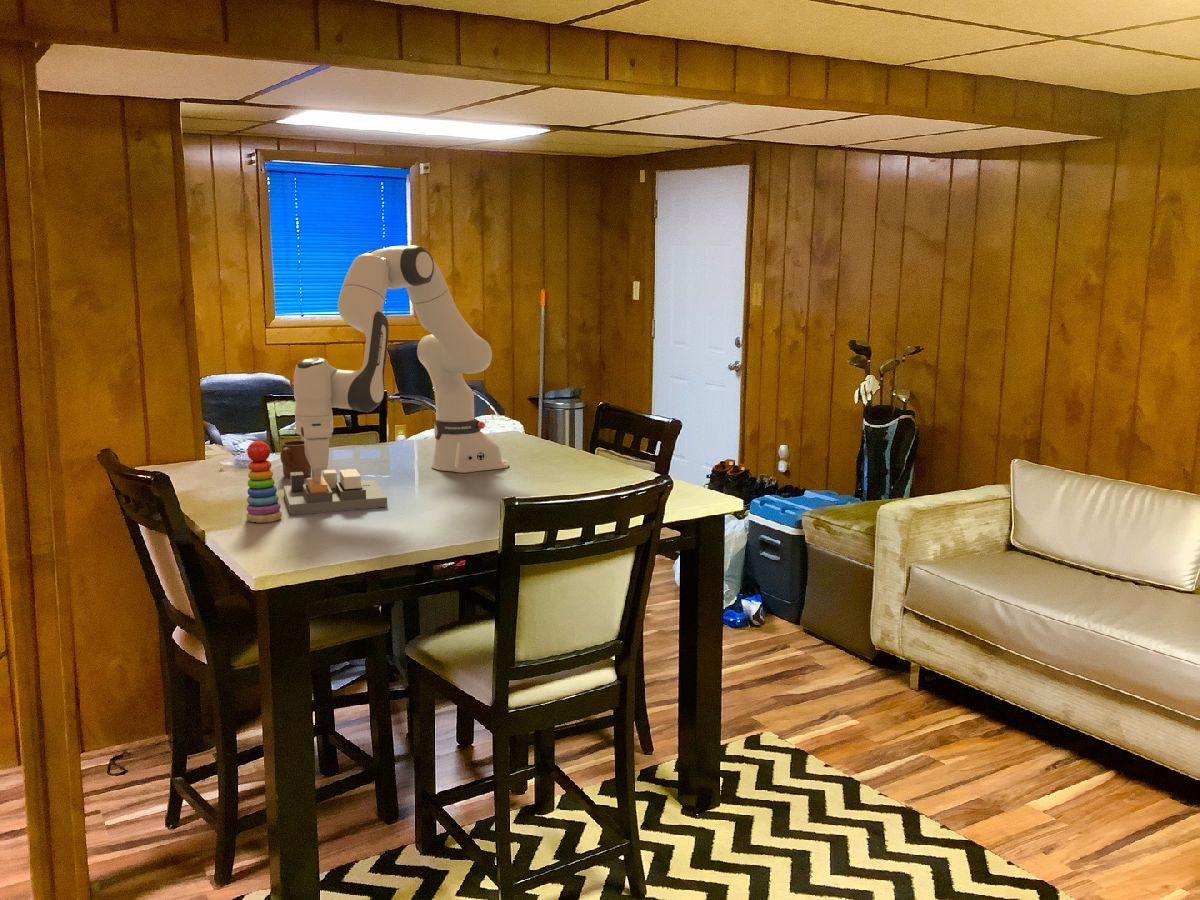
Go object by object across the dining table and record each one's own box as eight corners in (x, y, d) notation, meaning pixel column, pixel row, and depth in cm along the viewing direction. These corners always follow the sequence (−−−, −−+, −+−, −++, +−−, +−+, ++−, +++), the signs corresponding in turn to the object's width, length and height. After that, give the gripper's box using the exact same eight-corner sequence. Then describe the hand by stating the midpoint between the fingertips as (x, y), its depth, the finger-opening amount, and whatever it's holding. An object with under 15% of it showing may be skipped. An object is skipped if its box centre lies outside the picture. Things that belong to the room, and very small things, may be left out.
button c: (323, 488, 254) (323, 477, 253) (327, 496, 246) (327, 484, 245) (307, 489, 253) (306, 478, 252) (310, 497, 244) (310, 485, 244)
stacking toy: (274, 513, 243) (270, 436, 239) (287, 520, 237) (283, 441, 233) (241, 518, 238) (237, 440, 235) (253, 525, 232) (249, 445, 228)
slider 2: (335, 484, 261) (335, 469, 261) (337, 488, 258) (336, 472, 257) (323, 485, 260) (323, 470, 260) (325, 488, 257) (324, 473, 256)
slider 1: (303, 486, 259) (302, 471, 258) (304, 490, 255) (303, 474, 254) (290, 487, 257) (290, 472, 257) (292, 491, 254) (291, 475, 253)
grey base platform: (374, 489, 269) (373, 471, 268) (387, 507, 250) (386, 488, 249) (284, 495, 261) (283, 477, 260) (290, 514, 242) (289, 495, 241)
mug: (296, 482, 276) (294, 448, 274) (270, 481, 277) (268, 447, 275) (316, 473, 287) (314, 441, 286) (291, 472, 289) (289, 440, 287)
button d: (356, 480, 257) (355, 468, 256) (361, 488, 248) (360, 476, 248) (339, 481, 255) (339, 469, 255) (344, 489, 247) (343, 477, 246)
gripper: (297, 419, 254) (299, 473, 257) (304, 433, 236) (307, 491, 238) (323, 418, 257) (325, 472, 259) (332, 431, 238) (334, 489, 241)
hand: (316, 481), depth 249 cm, fingers closed, pressing on button c
